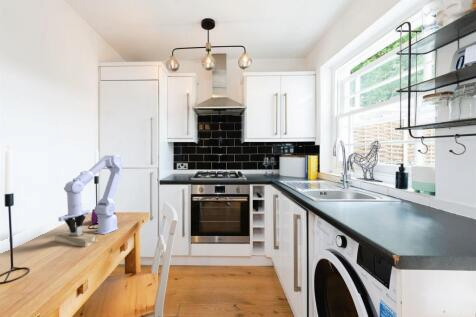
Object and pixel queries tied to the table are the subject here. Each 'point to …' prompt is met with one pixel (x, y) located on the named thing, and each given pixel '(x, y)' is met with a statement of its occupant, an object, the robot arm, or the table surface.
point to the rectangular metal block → (76, 231)
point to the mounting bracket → (95, 217)
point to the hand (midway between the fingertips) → (75, 231)
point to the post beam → (76, 239)
